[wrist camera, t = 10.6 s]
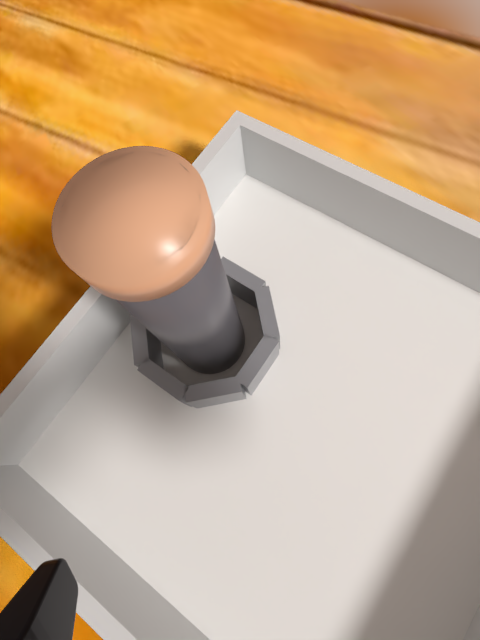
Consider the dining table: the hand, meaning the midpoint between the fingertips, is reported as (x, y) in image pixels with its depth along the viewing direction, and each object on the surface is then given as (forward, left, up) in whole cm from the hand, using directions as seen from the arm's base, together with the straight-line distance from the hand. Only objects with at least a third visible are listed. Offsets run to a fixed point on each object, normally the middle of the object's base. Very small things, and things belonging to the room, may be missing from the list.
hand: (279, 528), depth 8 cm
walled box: (+4, +1, -13) cm, 14 cm away
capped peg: (+4, +8, -13) cm, 15 cm away
